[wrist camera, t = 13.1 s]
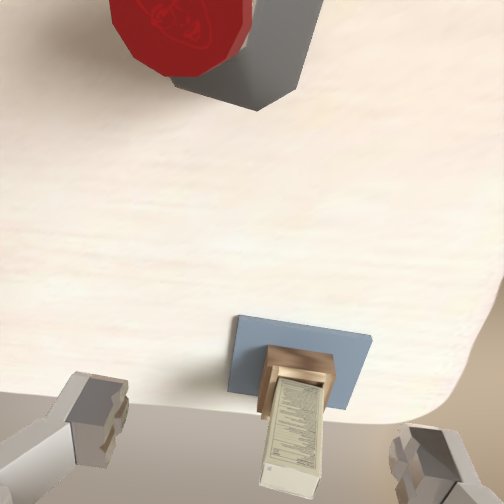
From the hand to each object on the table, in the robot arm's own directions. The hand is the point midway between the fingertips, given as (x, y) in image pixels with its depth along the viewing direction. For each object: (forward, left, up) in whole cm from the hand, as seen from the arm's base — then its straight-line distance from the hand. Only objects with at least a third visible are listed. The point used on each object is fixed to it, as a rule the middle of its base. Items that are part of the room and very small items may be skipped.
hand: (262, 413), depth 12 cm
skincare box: (+8, -31, -29) cm, 43 cm away
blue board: (+8, -31, -34) cm, 47 cm away
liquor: (-4, +10, -34) cm, 36 cm away
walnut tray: (+8, -32, -33) cm, 47 cm away
